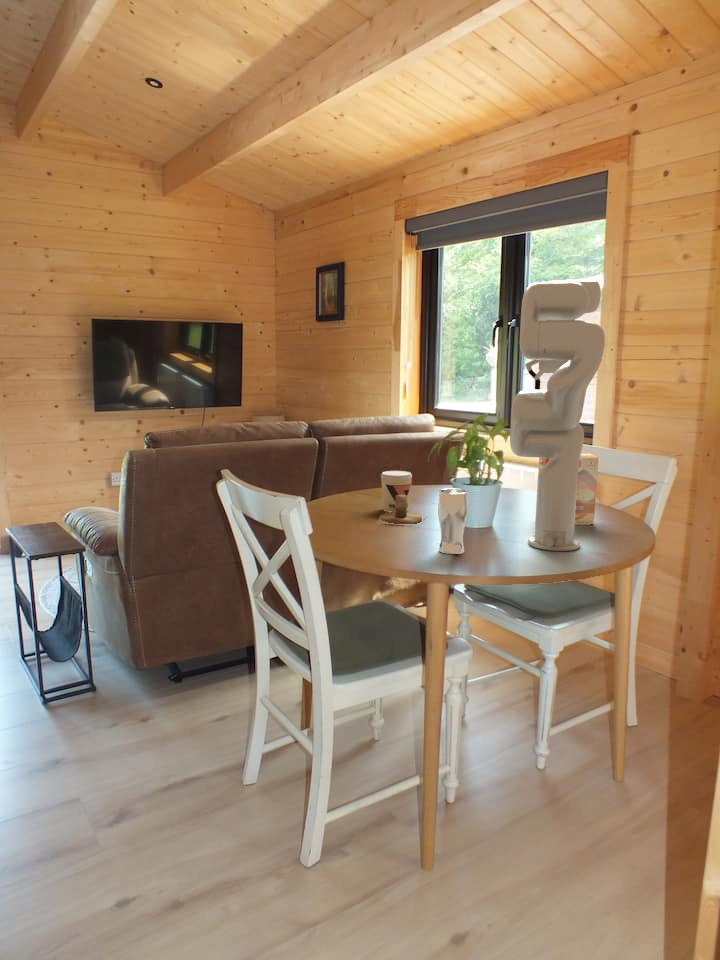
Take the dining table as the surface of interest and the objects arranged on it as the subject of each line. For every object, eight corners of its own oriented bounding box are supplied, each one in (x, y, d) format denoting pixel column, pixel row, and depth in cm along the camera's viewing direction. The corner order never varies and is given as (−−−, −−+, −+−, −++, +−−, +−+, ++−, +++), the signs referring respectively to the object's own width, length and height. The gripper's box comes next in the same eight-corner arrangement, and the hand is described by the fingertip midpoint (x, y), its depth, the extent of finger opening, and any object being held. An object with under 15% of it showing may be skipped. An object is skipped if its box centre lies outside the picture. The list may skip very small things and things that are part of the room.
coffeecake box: (541, 525, 199) (545, 456, 195) (535, 519, 206) (538, 452, 202) (594, 525, 199) (599, 456, 196) (586, 519, 206) (590, 453, 203)
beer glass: (470, 554, 170) (472, 493, 167) (443, 556, 168) (445, 494, 165) (458, 546, 177) (460, 487, 174) (432, 548, 175) (434, 489, 172)
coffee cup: (385, 516, 209) (385, 476, 206) (376, 509, 217) (377, 471, 215) (415, 515, 211) (416, 475, 209) (406, 508, 220) (406, 470, 217)
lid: (417, 526, 194) (418, 501, 193) (375, 523, 197) (375, 498, 196) (425, 516, 206) (425, 493, 204) (384, 514, 209) (385, 490, 208)
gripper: (526, 330, 190) (523, 395, 193) (594, 330, 186) (590, 396, 189) (527, 331, 197) (524, 393, 201) (592, 331, 193) (588, 394, 196)
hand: (556, 394), depth 195 cm, fingers open, 9 cm apart
